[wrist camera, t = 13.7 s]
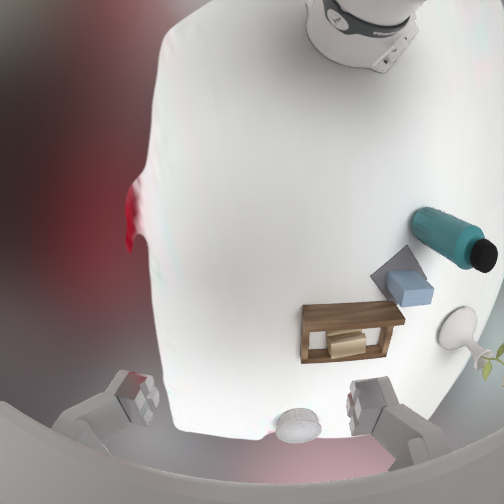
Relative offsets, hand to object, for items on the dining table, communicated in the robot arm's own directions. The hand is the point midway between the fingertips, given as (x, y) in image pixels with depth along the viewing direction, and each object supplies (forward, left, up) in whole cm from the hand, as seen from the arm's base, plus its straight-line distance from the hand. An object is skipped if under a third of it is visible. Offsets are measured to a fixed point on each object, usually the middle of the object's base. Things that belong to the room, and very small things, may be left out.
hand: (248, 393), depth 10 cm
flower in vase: (-17, +47, -37) cm, 62 cm away
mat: (-11, +25, -37) cm, 46 cm away
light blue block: (-11, +25, -37) cm, 46 cm away
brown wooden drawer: (+4, +27, -37) cm, 46 cm away
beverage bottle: (-20, +19, -37) cm, 46 cm away
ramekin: (+29, +44, -38) cm, 65 cm away
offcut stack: (+5, +28, -37) cm, 47 cm away
